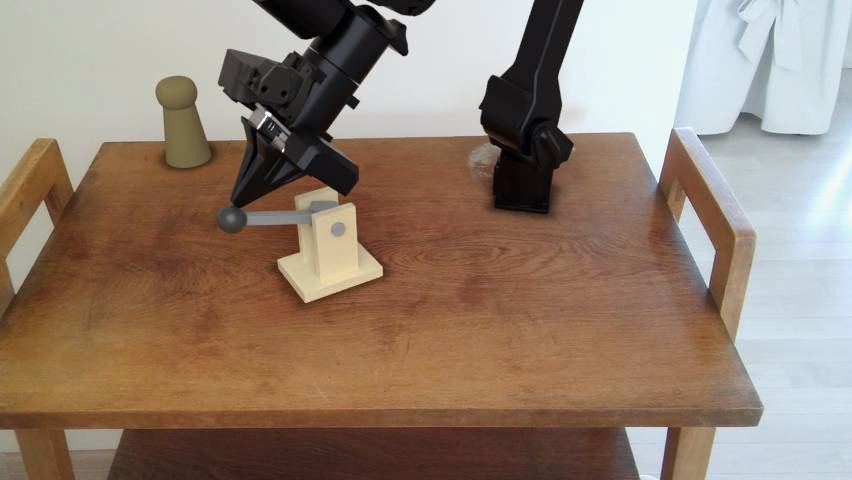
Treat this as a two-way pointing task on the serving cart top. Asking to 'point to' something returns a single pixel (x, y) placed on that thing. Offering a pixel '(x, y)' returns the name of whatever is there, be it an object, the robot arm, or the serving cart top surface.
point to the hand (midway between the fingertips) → (234, 204)
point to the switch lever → (267, 216)
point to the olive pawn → (182, 123)
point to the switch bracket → (328, 250)
